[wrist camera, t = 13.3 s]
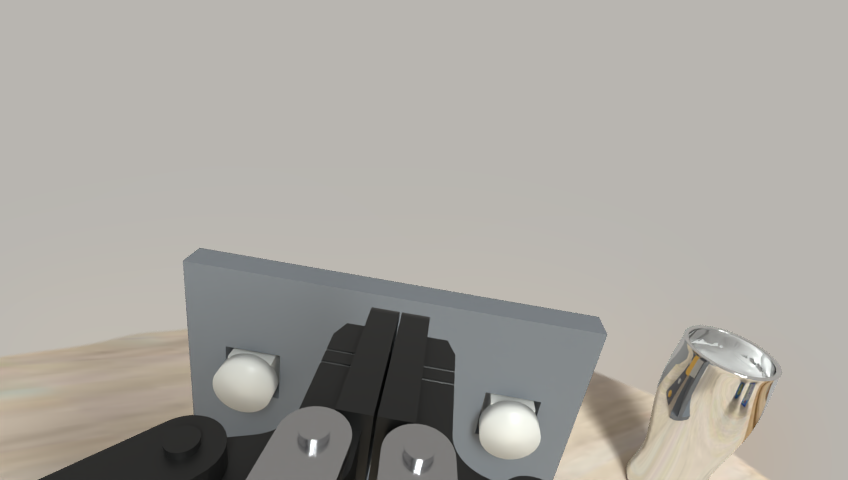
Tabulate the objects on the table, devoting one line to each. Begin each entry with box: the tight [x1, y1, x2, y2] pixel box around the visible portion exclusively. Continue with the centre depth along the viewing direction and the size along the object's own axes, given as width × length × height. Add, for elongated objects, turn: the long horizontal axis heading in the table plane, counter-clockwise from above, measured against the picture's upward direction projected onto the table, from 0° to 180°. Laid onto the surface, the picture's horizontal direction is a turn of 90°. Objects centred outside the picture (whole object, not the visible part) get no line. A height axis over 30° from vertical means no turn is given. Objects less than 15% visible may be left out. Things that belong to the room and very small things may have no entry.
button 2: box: [213, 348, 280, 412], centre depth 35 cm, size 4×10×4 cm, turn 175°
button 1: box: [479, 392, 541, 459], centre depth 35 cm, size 4×10×4 cm, turn 175°
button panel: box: [183, 248, 607, 480], centre depth 33 cm, size 27×10×18 cm, turn 85°
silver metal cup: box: [626, 325, 782, 480], centre depth 38 cm, size 7×7×15 cm
